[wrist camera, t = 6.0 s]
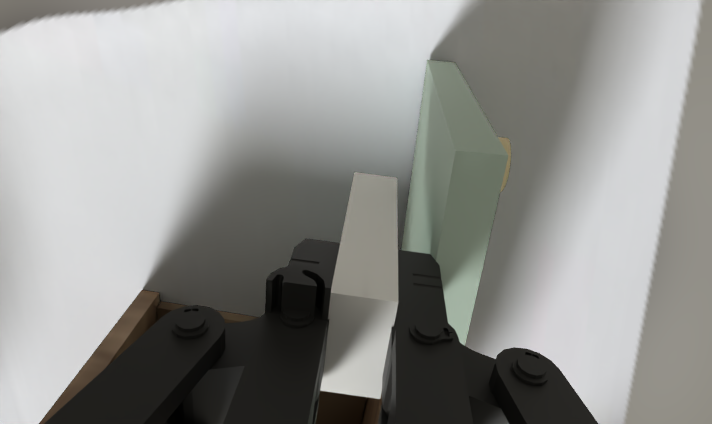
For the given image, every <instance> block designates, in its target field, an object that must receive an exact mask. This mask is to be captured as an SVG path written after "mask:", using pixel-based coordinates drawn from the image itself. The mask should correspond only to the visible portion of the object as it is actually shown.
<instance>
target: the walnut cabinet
mask: <svg viewBox="0 0 712 424" xmlns="http://www.w3.org/2000/svg"><path fill="white" fill-rule="evenodd" d="M184 306H187V305H181V304H174V303H168V302H162V301H161V302H160V300H159V293H158V292H152V291H146V290H142V291H141V292H140V293H139V295H138V296H137V297H136V298H135V300H134V301H133V302H132V304H131V305H130V306H129V308H128V309H127V310H126V311H125V313H124V314H123V315H122V317H121V318H120V319H119V321H118V322H117V323H116V324H115V326H114V327H113V328H112V330H111V331H110V332H109V334H108V335H107V336H106V337H105V339H104V340H103V341H102V343H101V344H100V345H99V346H98V348H97V349H96V350H95V352H94V353H93V354H92V356H91V357H90V358H89V359H88V361H87V362H86V363H85V365H84V366H83V367H82V369H81V370H80V371H79V372H78V374H77V375H76V376H75V378H74V379H73V380H72V382H71V383H70V384H69V385H68V387H67V388H66V389H65V391H64V392H63V393H62V395H61V396H60V397H59V398H58V400H57V401H56V402H55V404H54V405H53V406H52V408H51V409H50V410H49V411H48V413H47V414H46V415H45V417H44V418H43V419H42V421H41V422H40V423H39V424H44V423H45V422H46V421H47V420H49V419H50V418H51V417H52V416H53V415H54V414H55V413H56V412H57V411H59V410H60V409H61V408H62V407H63V406H64V405H65V404H66V403H67V402H68V401H70V400H71V399H72V398H73V397H74V396H75V395H76V394H77V393H78V392H80V391H81V390H82V389H83V388H84V387H85V386H86V385H87V384H88V383H89V382H91V381H92V380H93V379H94V378H95V377H96V376H97V375H98V374H99V373H101V372H102V371H103V370H104V369H105V368H106V367H107V366H108V365H109V364H111V363H112V362H113V361H114V360H115V359H116V358H117V357H118V356H119V355H120V354H122V353H123V352H124V351H125V350H126V349H127V348H128V347H129V346H130V345H132V344H133V343H134V342H135V341H136V340H137V339H138V338H139V337H140V336H141V335H143V334H144V333H145V332H146V331H147V330H148V329H149V328H150V327H151V326H153V325H154V324H155V323H156V322H157V321H158V320H159V319H160V318H161V317H163V316H164V315H166V314H167V313H169V312H170V311H172V310H175V309H178V308H181V307H184ZM216 311H217V310H216ZM218 312H219V313H220V314H221V315H222V317H223V318H224V319H225V323H234V322H243V321H249V320H253V319H256V318H259V317H253V316H247V315H241V314H235V313H229V312H223V311H218ZM365 402H366V404H365ZM381 404H382V392H381V398H380V399H376V398H369V397H367V399H366V397H362V396H354V395H347V394H341V393H334V392H327V391H320V395H319V404H318V412H317V417H316V423H315V424H378V420H379V415H380V410H381ZM364 406H365V408H364ZM363 411H364V413H363ZM362 415H363V417H362ZM361 420H362V422H361Z"/></svg>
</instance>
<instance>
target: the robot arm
mask: <svg viewBox="0 0 712 424" xmlns="http://www.w3.org/2000/svg"><path fill="white" fill-rule="evenodd" d="M320 391H327V392H334V393H341V394H347V395H354V396H362V397H369V398H376V399H380V398H381V392H382V404H381V410H380V415H379V420H378V424H598V423H597V421H596V420H595V419H594V417H593V416H592V414H591V413H590V412H589V410H588V409H587V407H586V406H585V405H584V403H583V402H582V400H581V399H580V397H579V396H578V395H577V393H576V392H575V390H574V389H573V388H572V386H571V385H570V383H569V382H568V381H567V379H566V378H565V376H564V375H563V374H562V372H561V371H560V369H559V368H558V367H557V366H556V365H555V364H554V363H553V362H552V361H551V360H549V359H548V358H546V357H544V356H543V355H541V354H540V353H537V352H534V351H531V350H528V349H523V348H510V349H505V350H503V351H502V352H501V353H499V354H498V355H497V358H496V359H493V358H491V357H488V356H485V355H482V354H480V353H477V352H475V351H473V350H471V349H469V348H467V347H466V346H464V345H463V344H461V343H460V342H459V338H458V335H457V333H456V331H455V329H454V328H453V327H452V326H451V325H450V324H448V319H447V313H446V306H445V299H444V292H443V285H442V280H441V272H440V265H439V264H438V263H437V262H436V260H435V259H434V258H433V257H432V255H431V254H426V253H419V252H411V251H404V250H398V205H397V178H396V177H388V176H381V175H373V174H366V173H358V172H354V176H353V181H352V186H351V191H350V197H349V202H348V207H347V212H346V217H345V222H344V227H343V232H342V237H341V242H340V243H335V242H328V241H320V240H313V239H305V240H303V241H302V242H301V243H300V244H298V245H297V246H296V247H295V248H294V251H293V254H292V257H291V260H290V262H289V265H288V267H284V268H280V269H278V270H276V271H274V272H272V273H271V274H270V276H269V277H268V278H267V279H266V304H265V314H264V315H262V316H261V317H259V318H256V319H253V320H249V321H243V322H234V323H225V319H224V318H223V317H222V315H221V314H220V313H219V312H218V311H216V310H214V309H212V308H210V307H204V306H198V305H197V306H184V307H181V308H178V309H175V310H172V311H170V312H169V313H167V314H166V315H164V316H163V317H161V318H160V319H159V320H158V321H157V322H156V323H155V324H154V325H153V326H151V327H150V328H149V329H148V330H147V331H146V332H145V333H144V334H143V335H141V336H140V337H139V338H138V339H137V340H136V341H135V342H134V343H133V344H132V345H130V346H129V347H128V348H127V349H126V350H125V351H124V352H123V353H122V354H120V355H119V356H118V357H117V358H116V359H115V360H114V361H113V362H112V363H111V364H109V365H108V366H107V367H106V368H105V369H104V370H103V371H102V372H101V373H99V374H98V375H97V376H96V377H95V378H94V379H93V380H92V381H91V382H89V383H88V384H87V385H86V386H85V387H84V388H83V389H82V390H81V391H80V392H78V393H77V394H76V395H75V396H74V397H73V398H72V399H71V400H70V401H68V402H67V403H66V404H65V405H64V406H63V407H62V408H61V409H60V410H59V411H57V412H56V413H55V414H54V415H53V416H52V417H51V418H50V419H49V420H47V421H46V422H45V423H44V424H315V423H316V417H317V412H318V404H319V395H320Z"/></svg>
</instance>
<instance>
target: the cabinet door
mask: <svg viewBox="0 0 712 424" xmlns="http://www.w3.org/2000/svg"><path fill="white" fill-rule="evenodd" d="M510 162H511V146H510V141H509V139H508V138H503V137H498V136H497V135H496V133H495V131H494V130H493V128H492V126H491V124H490V123H489V121H488V119H487V117H486V116H485V114H484V112H483V110H482V109H481V107H480V105H479V103H478V102H477V100H476V98H475V97H474V95H473V93H472V91H471V90H470V88H469V86H468V84H467V83H466V81H465V79H464V77H463V76H462V74H461V72H460V70H459V69H458V67H457V65H456V64H455V62H445V61H434V60H427V65H426V72H425V80H424V87H423V94H422V101H421V109H420V116H419V123H418V131H417V138H416V145H415V153H414V160H413V167H412V174H411V182H410V189H409V196H408V204H407V211H406V218H405V225H404V233H403V240H402V247H401V250H404V251H411V252H419V253H426V254H431V255H432V257H433V258H434V259H435V260H436V262H437V263H438V264H439V265H440V272H441V280H442V285H443V292H444V299H445V306H446V313H447V319H448V324H450V325H451V326H452V327H453V328H454V329H455V331H456V333H457V335H458V338H459V342H460V343H461V344H463V345H464V346H465V344H466V339H467V335H468V331H469V326H470V322H471V317H472V313H473V309H474V304H475V300H476V296H477V291H478V287H479V282H480V278H481V274H482V269H483V265H484V261H485V256H486V252H487V247H488V243H489V239H490V234H491V230H492V226H493V221H494V217H495V212H496V208H497V204H498V199H499V195H500V192H502V191H503V189H504V187H505V185H506V182H507V179H508V175H509V169H510Z"/></svg>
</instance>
